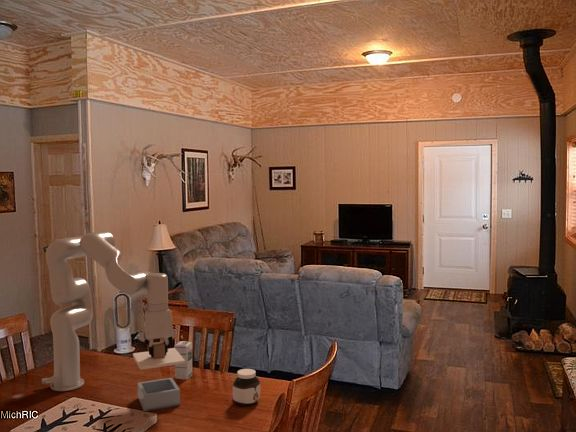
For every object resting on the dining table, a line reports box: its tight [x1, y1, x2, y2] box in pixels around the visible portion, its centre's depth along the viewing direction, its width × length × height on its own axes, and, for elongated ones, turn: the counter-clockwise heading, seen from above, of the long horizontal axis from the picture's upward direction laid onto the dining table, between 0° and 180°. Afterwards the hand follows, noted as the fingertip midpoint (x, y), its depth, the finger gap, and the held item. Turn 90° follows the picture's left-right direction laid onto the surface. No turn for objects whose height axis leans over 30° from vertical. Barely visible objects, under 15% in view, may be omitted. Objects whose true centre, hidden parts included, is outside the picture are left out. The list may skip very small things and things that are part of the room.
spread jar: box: [232, 368, 261, 407], centre depth 199 cm, size 12×11×12 cm
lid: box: [132, 341, 185, 371], centre depth 196 cm, size 16×16×6 cm
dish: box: [137, 377, 181, 412], centre depth 197 cm, size 13×13×6 cm
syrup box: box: [174, 340, 194, 380], centre depth 222 cm, size 6×6×14 cm
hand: (158, 354), depth 196 cm, fingers closed on lid, 4 cm apart
